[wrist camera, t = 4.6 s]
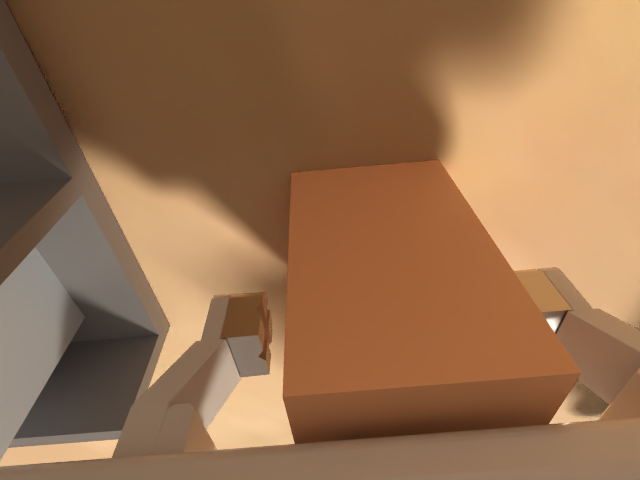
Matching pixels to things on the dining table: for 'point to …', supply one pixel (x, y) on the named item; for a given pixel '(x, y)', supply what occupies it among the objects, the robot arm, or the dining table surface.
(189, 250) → the dining table surface
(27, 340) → the blue-grey block
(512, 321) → the terracotta plug
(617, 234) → the dining table surface
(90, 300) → the slot rack
